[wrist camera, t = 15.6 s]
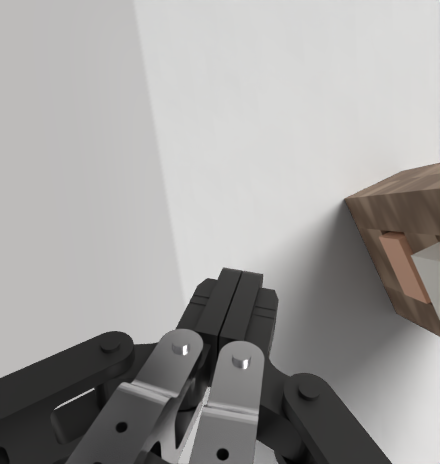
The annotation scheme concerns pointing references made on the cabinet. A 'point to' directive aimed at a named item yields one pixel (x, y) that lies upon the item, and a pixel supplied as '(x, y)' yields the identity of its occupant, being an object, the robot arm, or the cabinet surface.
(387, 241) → the block
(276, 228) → the cabinet surface
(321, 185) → the cabinet surface
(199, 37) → the cabinet surface
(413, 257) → the key middle
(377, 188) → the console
